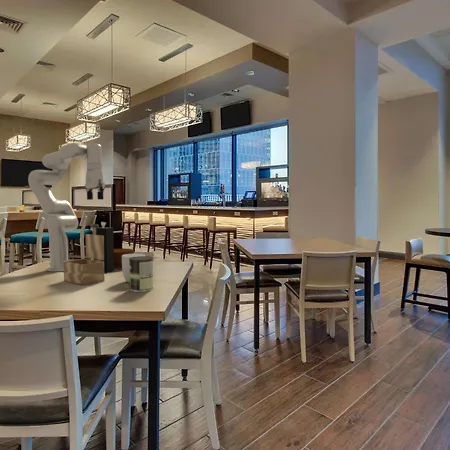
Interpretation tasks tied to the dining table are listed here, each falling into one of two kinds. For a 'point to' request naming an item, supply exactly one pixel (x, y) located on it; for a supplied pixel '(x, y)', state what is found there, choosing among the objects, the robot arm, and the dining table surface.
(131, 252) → the brown block
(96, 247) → the flap
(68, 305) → the dining table surface
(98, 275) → the carton
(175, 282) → the dining table surface
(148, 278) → the coffee can
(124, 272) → the mug
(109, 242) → the tissue box
